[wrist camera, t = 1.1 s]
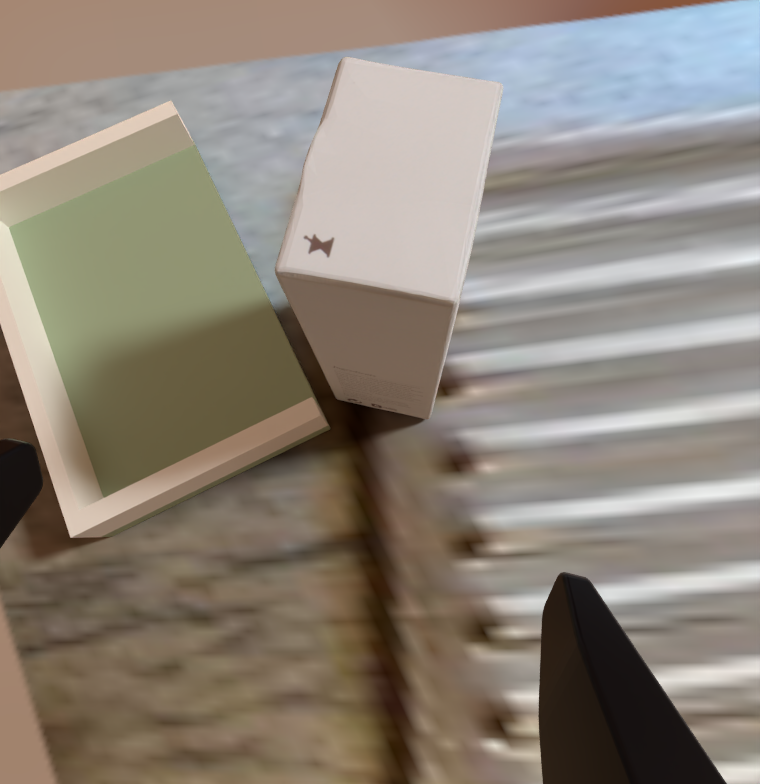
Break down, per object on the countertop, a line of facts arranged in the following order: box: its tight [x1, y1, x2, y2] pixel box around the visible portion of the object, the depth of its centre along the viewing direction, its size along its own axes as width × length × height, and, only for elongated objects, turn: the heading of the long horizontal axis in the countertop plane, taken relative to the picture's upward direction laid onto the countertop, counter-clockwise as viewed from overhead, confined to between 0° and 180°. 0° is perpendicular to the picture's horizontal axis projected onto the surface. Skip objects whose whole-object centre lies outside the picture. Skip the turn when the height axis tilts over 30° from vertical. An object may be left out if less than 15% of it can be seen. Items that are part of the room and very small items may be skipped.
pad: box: [0, 101, 331, 538], centre depth 23 cm, size 16×10×3 cm, turn 26°
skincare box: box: [275, 57, 503, 419], centre depth 18 cm, size 6×4×12 cm
